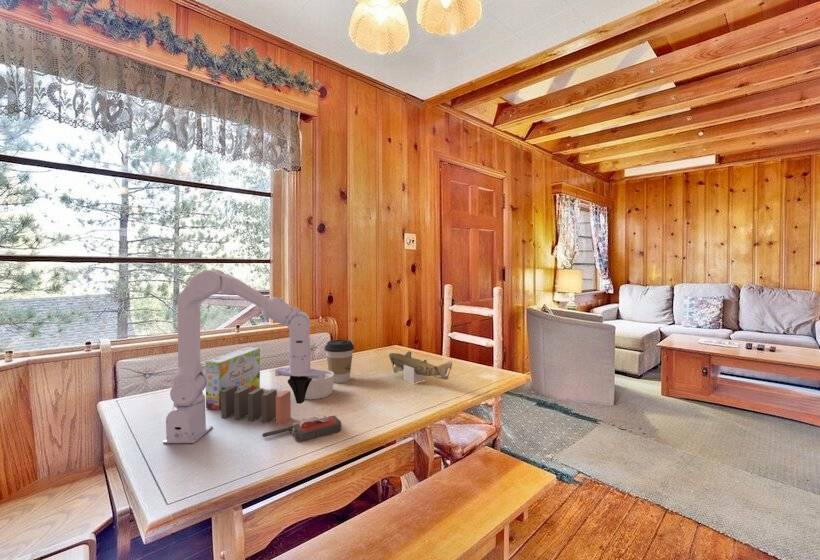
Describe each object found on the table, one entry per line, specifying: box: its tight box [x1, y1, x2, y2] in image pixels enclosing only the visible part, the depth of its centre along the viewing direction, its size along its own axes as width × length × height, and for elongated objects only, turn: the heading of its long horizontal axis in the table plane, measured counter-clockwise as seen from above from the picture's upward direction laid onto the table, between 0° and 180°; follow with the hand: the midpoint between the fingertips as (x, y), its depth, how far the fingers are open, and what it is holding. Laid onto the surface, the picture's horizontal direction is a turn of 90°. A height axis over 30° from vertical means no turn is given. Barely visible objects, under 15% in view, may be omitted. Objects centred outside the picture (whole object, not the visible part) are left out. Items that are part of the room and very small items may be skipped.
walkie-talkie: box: [261, 415, 342, 443], centre depth 101 cm, size 9×4×20 cm
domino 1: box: [220, 386, 237, 419], centre depth 113 cm, size 2×5×8 cm, turn 166°
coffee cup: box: [324, 339, 355, 384], centre depth 146 cm, size 11×11×15 cm
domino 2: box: [234, 387, 250, 421], centre depth 112 cm, size 2×5×8 cm, turn 166°
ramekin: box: [305, 369, 334, 401], centre depth 131 cm, size 13×13×7 cm
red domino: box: [275, 389, 292, 426], centre depth 109 cm, size 2×5×8 cm, turn 166°
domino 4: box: [261, 388, 278, 424], centre depth 110 cm, size 2×5×8 cm, turn 166°
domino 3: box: [247, 387, 264, 422], centre depth 111 cm, size 2×5×8 cm, turn 166°
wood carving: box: [388, 351, 453, 384], centre depth 144 cm, size 9×35×11 cm, turn 40°
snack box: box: [205, 346, 261, 411], centre depth 127 cm, size 21×6×15 cm, turn 168°
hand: (300, 402), depth 108 cm, fingers closed
